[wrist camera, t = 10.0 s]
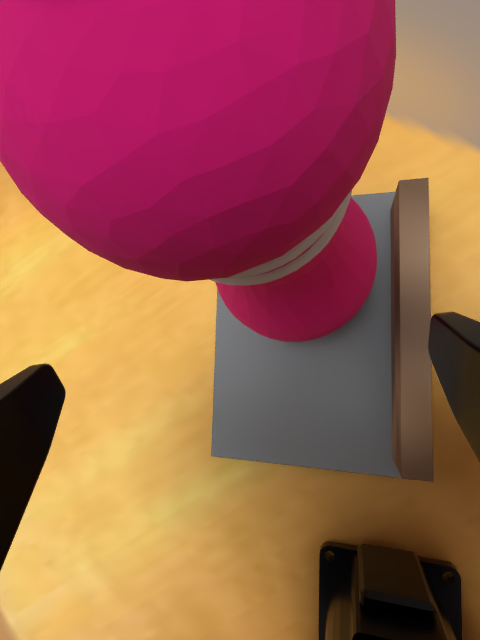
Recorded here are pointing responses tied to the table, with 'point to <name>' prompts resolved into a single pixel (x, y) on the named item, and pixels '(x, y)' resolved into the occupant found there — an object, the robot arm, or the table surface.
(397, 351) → the stop bar
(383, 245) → the mat
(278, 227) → the pepper mill
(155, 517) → the table surface
